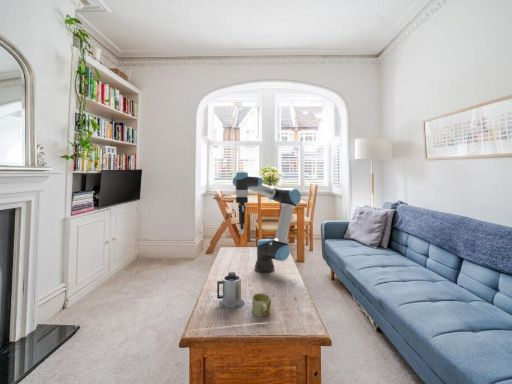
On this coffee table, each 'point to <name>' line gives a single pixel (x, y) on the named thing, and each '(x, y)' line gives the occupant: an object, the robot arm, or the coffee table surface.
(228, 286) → the grey french press
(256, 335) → the coffee table surface
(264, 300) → the mug
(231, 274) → the plunger
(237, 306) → the coaster
